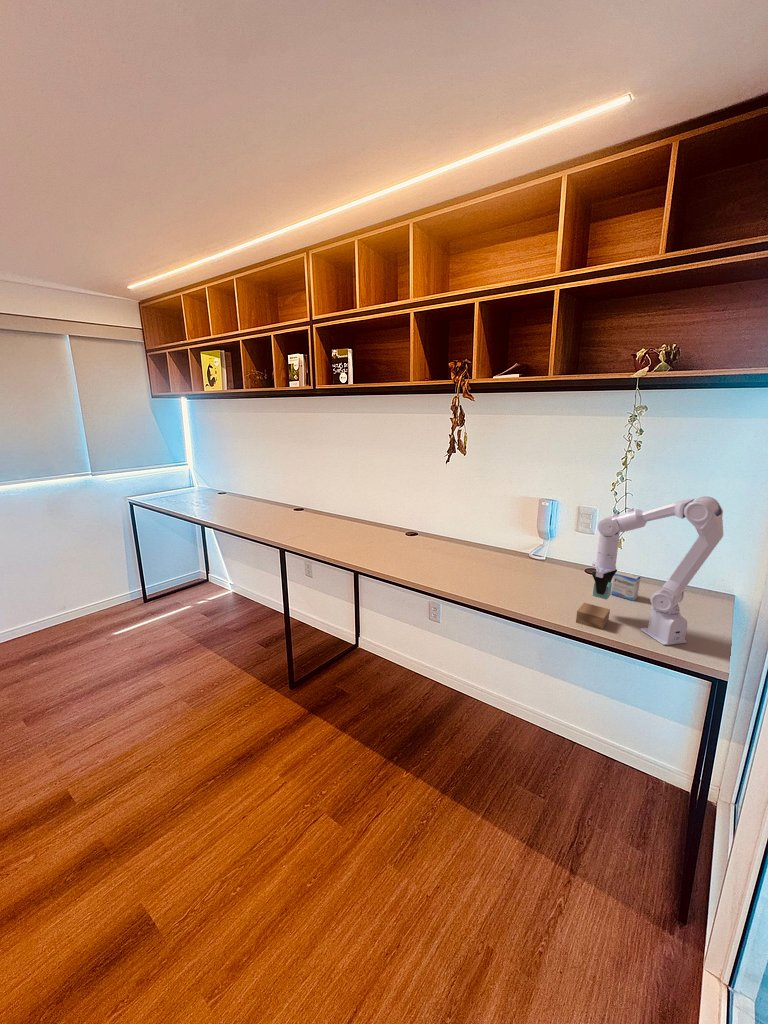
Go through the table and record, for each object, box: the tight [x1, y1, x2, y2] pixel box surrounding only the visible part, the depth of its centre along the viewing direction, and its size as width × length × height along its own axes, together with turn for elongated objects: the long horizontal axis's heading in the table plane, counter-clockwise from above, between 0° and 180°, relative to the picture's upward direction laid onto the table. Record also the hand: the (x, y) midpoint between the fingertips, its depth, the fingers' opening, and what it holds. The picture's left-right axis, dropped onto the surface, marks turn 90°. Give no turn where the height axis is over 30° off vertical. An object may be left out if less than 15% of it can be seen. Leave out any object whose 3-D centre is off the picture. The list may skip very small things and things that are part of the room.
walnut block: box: [575, 602, 611, 631], centre depth 142 cm, size 8×8×4 cm
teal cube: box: [592, 582, 613, 601], centre depth 146 cm, size 4×4×4 cm
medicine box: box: [610, 570, 641, 602], centre depth 161 cm, size 8×4×9 cm, turn 45°
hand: (602, 591), depth 146 cm, fingers closed on teal cube, 4 cm apart
